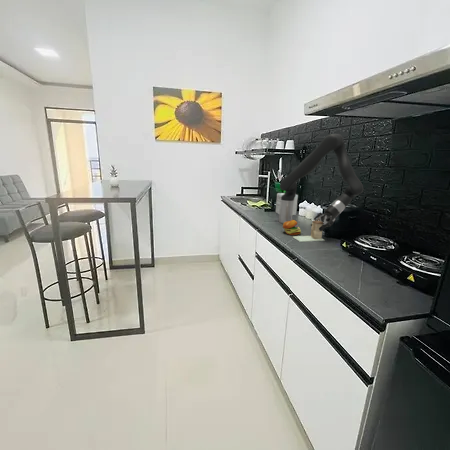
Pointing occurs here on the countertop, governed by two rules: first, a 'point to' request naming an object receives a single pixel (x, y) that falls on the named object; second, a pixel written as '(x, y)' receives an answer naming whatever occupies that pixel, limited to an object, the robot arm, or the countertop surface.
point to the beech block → (316, 230)
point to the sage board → (306, 239)
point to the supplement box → (278, 203)
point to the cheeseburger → (291, 228)
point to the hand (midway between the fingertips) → (315, 228)
